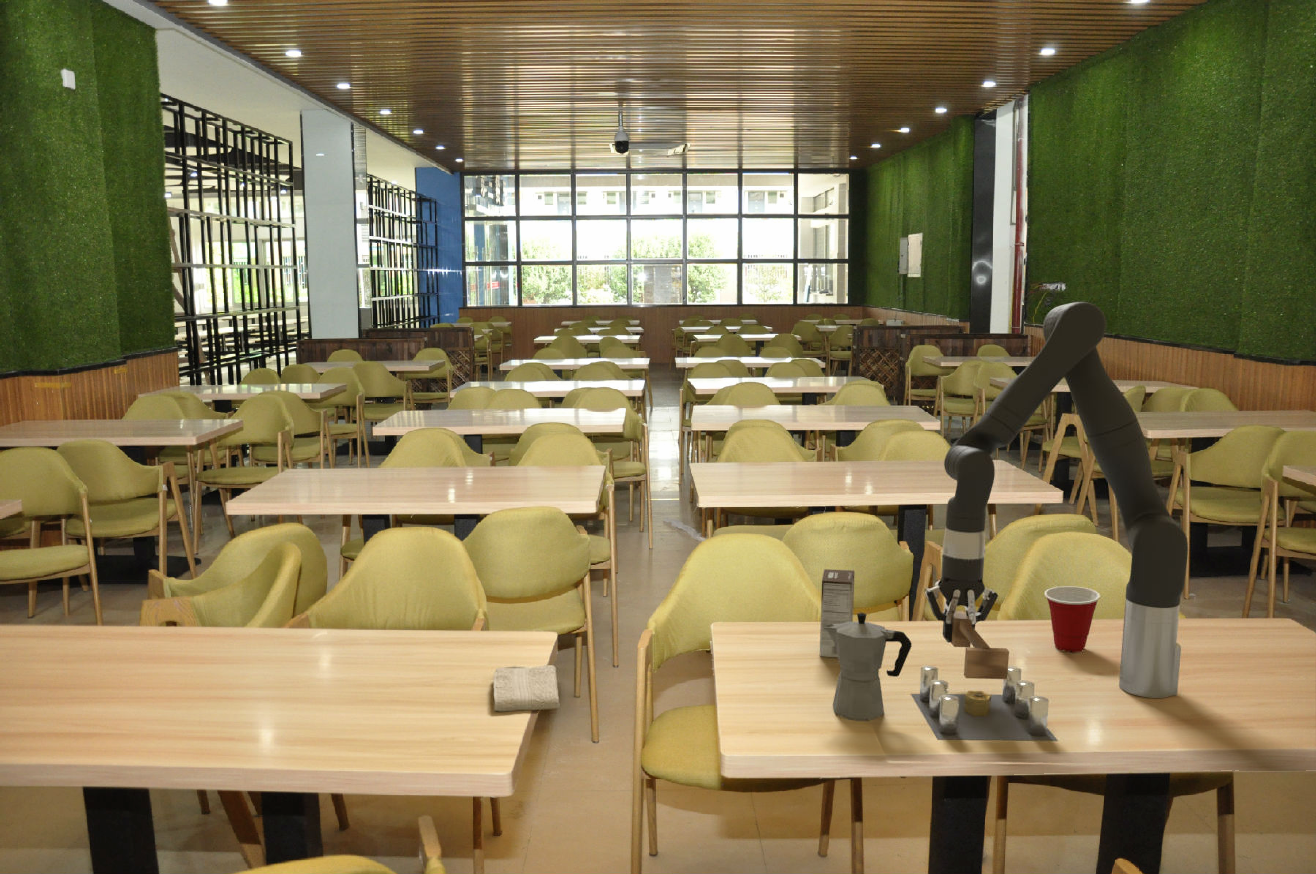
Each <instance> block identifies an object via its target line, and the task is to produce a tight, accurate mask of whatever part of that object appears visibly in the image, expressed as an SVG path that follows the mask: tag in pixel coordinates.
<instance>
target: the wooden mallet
mask: <svg viewBox="0 0 1316 874" xmlns="http://www.w3.org/2000/svg"><path fill="white" fill-rule="evenodd" d="M952 624H953V628H952V642H951V645H952V646H953V648H965V651H964V653H965V654H964V670H963V676H964V678H965V679H979V680H980V679H981V680H983V679H984V680H1003V679H1007V674H1008V666H1009V659H1010V656H1009V655H1010V650H1009V649H1007V647H1006V648H1005V647H990V645H988V643H987V642H986V641H985V640H984V639H983V638H982V636H981V635H980V633H978V631H976V628H975V629H974V628H973V627H972V621H971V620H970V618H969V617H968V616H967V615H966V612H965V611H962V610H956V611H955V613H954V616H953V620H952ZM971 646H972V647H971Z"/></svg>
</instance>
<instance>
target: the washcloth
mask: <svg viewBox="0 0 1316 874" xmlns="http://www.w3.org/2000/svg"><path fill="white" fill-rule="evenodd" d="M557 677H558V676H557V669H556V666H554V665H552V664H551V665H549V664H547V665H540V666H539V665H538V666H532V667H529V666H527V667H526V666H518V665H514V666H513V665H512V666H506V667H505V666H504V667H497V668H496V669H495V671H494V673H493V679H492V680H493V686H492V687H493V698H494V705H493V707H494V708H493V709H494V712H502V713H503V712H515V711H528V710H529V711H530V710H531V711H538V710H539V711H540V710H554V709H559V708H560V707H561V704H560V697H559V689H558V679H557Z"/></svg>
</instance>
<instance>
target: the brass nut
mask: <svg viewBox="0 0 1316 874" xmlns="http://www.w3.org/2000/svg"><path fill="white" fill-rule="evenodd" d="M965 694H966V695H965V707H964V711H965V712H967V713H969V714H971V715H973V716H988V714H989V713H990V709H991V695H989V693H987V692H984V691H982V690H968V691H967V692H966V693H965Z"/></svg>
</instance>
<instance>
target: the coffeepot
mask: <svg viewBox="0 0 1316 874" xmlns="http://www.w3.org/2000/svg"><path fill="white" fill-rule="evenodd" d="M856 615H857V621H853V622H845V623H842V624H831V625H827V626H826V627H825V628H824V629H826V630H827V631H828V633H829V634H830V636H831V638H832V640H833V642H834V643H835V645H836V647H837V650H838V657H837V659H838V664H839V666H840V673H839V674H838V678H837V682H836V687H835V693H834V696H833V702H832V707H833V711H834V713H835V714H836V715H837V716H840V717H841V718H844V719H848V720H852V721H858V722H859V721H860V722H861V721H862V722H866V721H869V720H873V719H876V718H879V717H880V716H882V715H884V714H885V709H884V708H885V707H884V701H883V693H882V687H881V685H882V684H881V679H880V676H879V672H880V671H879V670H880V669H882V665H883V660H884V656H885V655H884V654H885V650H886V645H887V644H886V643H887V642H888V643H891V642H892V643H894V642H896V643H897V642H898V643H900V645H901V646H900V648H899V650H898V655H897V658H896V660H895V661H894V669H893V670H888V669H886V674H887V676H888V677H897V678H898V677H899V676H900V674H901V672H902V670H903V667H904V664H905V662H906V660H907V658H908V656H909V653H910V651H911V650H912V641H911V640H910V639H909V637H908V636H907V634H906V633H905V632H904V631H899V630H893V629H887V628H886V627H885V626H883V625H880V624H876V623H872V622H869V621H866V619H867V613H866V612H858V613H857V614H856Z"/></svg>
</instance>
